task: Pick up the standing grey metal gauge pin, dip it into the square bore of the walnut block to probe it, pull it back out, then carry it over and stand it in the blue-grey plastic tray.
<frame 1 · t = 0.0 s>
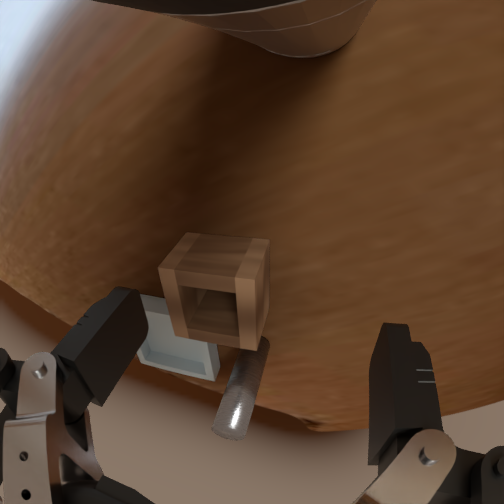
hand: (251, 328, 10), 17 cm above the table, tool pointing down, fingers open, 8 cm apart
pin: (256, 343, 36), on the table
tray: (174, 331, 38), on the table
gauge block: (229, 271, 31), on the table
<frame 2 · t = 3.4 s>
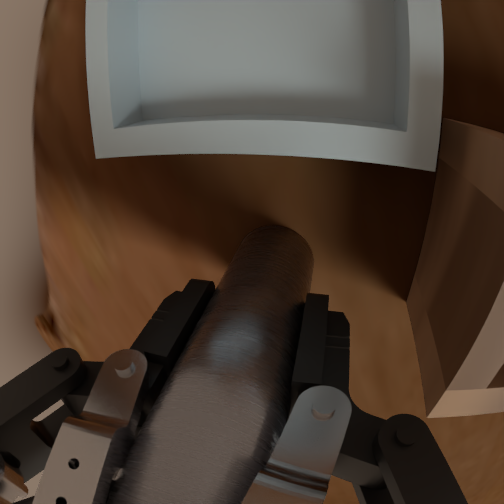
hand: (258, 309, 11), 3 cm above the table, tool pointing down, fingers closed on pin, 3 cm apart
pin: (275, 260, 13), on the table, touching gripper
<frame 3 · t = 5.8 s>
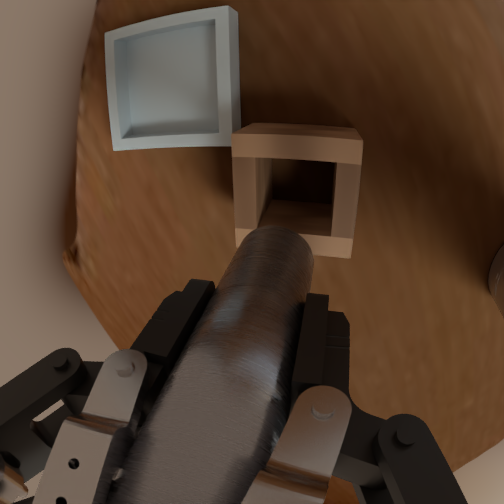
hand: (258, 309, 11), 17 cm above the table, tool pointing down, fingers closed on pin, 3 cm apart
pin: (275, 260, 13), point 14 cm above the table, touching gripper
tray: (176, 80, 23), on the table
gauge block: (302, 172, 25), on the table
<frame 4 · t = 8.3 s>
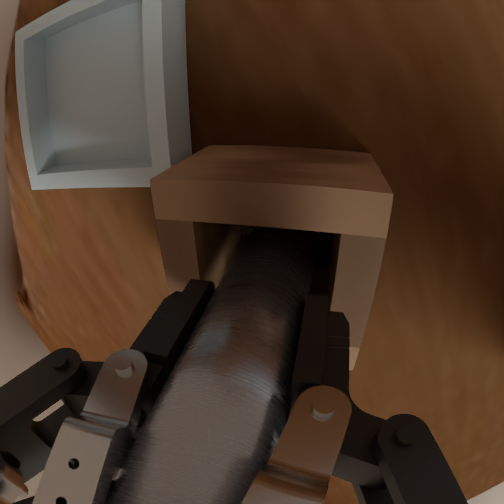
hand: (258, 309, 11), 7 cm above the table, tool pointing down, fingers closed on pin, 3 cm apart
pin: (275, 260, 13), point 4 cm above the table, touching gripper
tray: (102, 86, 15), on the table
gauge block: (286, 221, 17), on the table
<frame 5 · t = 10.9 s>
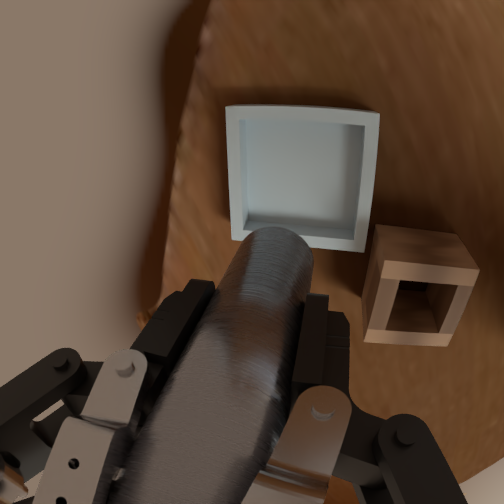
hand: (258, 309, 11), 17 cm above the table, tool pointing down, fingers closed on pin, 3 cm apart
pin: (275, 261, 13), point 14 cm above the table, touching gripper
tray: (302, 171, 25), on the table
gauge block: (408, 267, 27), on the table
when the fingers open (5 cm above the table, at t = 13.3 s): pin stays where it is, resting on tray.
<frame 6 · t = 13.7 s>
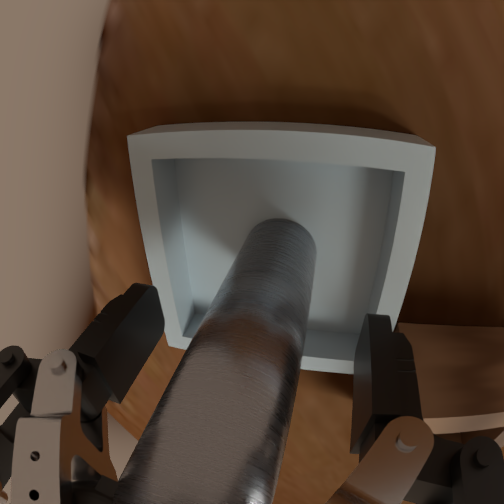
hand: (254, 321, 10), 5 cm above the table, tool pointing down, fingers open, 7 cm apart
pin: (280, 251, 14), point 1 cm above the table, touching tray
tray: (280, 243, 14), on the table
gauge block: (436, 371, 16), on the table
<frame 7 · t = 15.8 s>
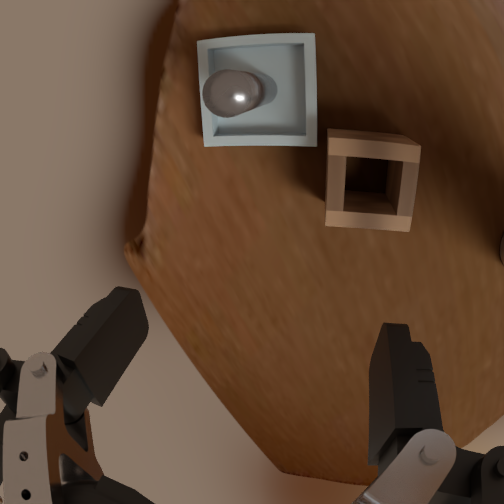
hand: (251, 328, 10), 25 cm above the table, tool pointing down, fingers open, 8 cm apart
pin: (261, 89, 28), point 1 cm above the table, touching tray
tray: (261, 89, 28), on the table
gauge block: (364, 168, 30), on the table
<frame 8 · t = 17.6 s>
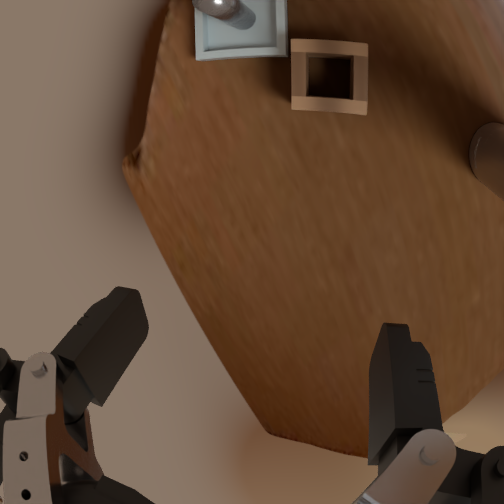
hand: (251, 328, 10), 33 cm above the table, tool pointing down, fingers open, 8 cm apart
pin: (243, 18, 31), point 1 cm above the table, touching tray
tray: (243, 19, 31), on the table
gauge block: (329, 77, 33), on the table
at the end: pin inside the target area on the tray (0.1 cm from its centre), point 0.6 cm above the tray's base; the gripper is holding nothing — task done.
